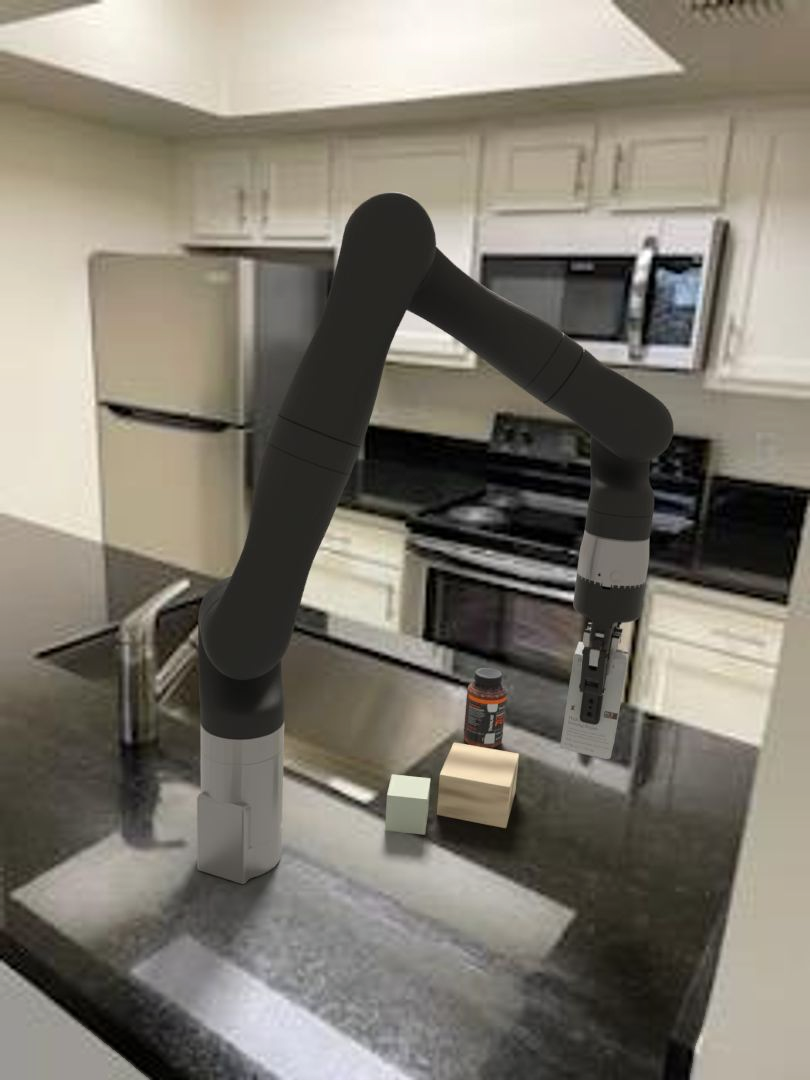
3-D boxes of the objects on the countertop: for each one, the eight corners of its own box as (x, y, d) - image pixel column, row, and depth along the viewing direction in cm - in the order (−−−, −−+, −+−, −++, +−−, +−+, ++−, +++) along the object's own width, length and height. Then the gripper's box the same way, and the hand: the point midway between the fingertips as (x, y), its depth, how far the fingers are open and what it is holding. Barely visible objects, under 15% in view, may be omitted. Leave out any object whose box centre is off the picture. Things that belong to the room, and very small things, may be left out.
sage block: (424, 835, 104) (427, 799, 103) (384, 830, 104) (387, 795, 103) (427, 812, 109) (430, 778, 108) (389, 808, 109) (391, 774, 108)
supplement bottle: (500, 753, 125) (506, 683, 122) (460, 747, 126) (466, 677, 123) (503, 735, 131) (509, 667, 128) (465, 729, 132) (471, 662, 129)
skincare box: (559, 749, 98) (571, 653, 95) (564, 733, 102) (576, 640, 99) (612, 761, 96) (627, 663, 93) (616, 743, 100) (629, 649, 97)
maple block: (505, 829, 106) (509, 787, 105) (436, 815, 109) (439, 774, 107) (515, 793, 115) (519, 753, 113) (450, 781, 117) (453, 742, 115)
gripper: (587, 553, 101) (571, 684, 106) (566, 583, 88) (548, 731, 93) (651, 563, 99) (632, 697, 103) (639, 595, 86) (617, 747, 90)
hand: (592, 712), depth 98 cm, fingers closed on skincare box, 4 cm apart
